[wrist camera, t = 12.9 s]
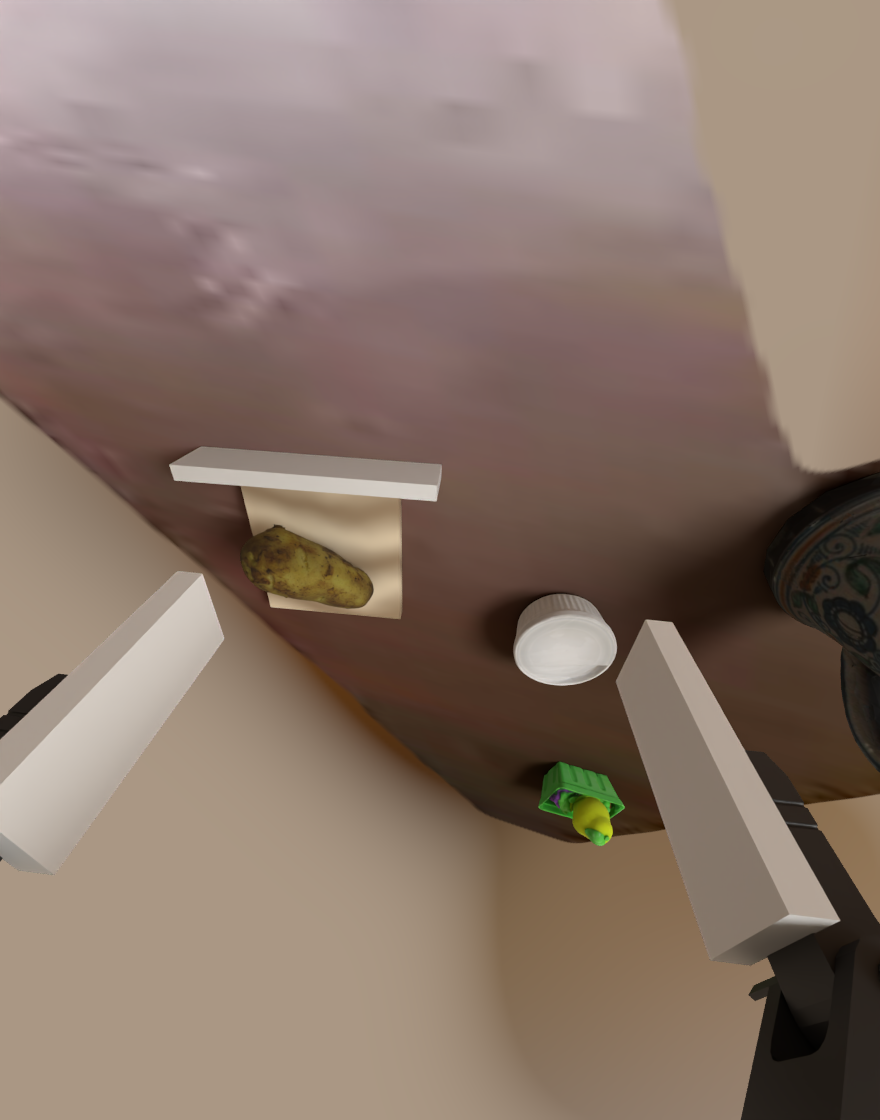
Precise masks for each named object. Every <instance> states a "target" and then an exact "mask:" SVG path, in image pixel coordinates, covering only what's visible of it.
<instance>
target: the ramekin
mask: <svg viewBox="0 0 880 1120" xmlns="http://www.w3.org/2000/svg"><path fill="white" fill-rule="evenodd" d="M616 652H617V644H616V639H615V636H614V634H613V632H612V630H611V628H610V627H609V626H608V625H607V624H606V623H605V621H604V619H603V618H602V616H601V615H600V613H599V611H598V610H597V609H596V608H595V606H593V604H592V603H590V602H589V601H587V600H585V599H584V598H581V597H579V596H575V595H569V594H553V595H548V596H545V597H542V598H540V599H538V600H536V601H534V602H533V603H531V604H530V605H529V606H528V607H527V608H526V609H525V610H524V611H523V612H522V614H521V615H520V618H519V620H518V625H517V633H516V638H515V641H514V646H513V653H514V659H515V662H516V665H517V666H518V668H519V669H520V670H521V671H522V672H523V673H524V674H525V675H527V676H528V677H530V678H532V679H534V680H536V681H539V682H542V683H545V684H551V685H573V684H579V683H582V682H586V681H588V680H591V679H593V678H595V677H597V676H599V675H600V674H602V673H603V672H604V671H605V670H606V669H607V668H608V667H609V666H610V665H611V664H612V662H613V660H614V658H615V655H616Z"/></svg>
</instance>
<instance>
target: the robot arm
mask: <svg viewBox="0 0 880 1120" xmlns="http://www.w3.org/2000/svg"><path fill="white" fill-rule="evenodd" d="M223 640H224V636H223V633H222V630H221V627H220V624H219V621H218V618H217V615H216V612H215V610H214V606H213V604H212V601H211V597H210V595H209V592H208V589H207V586H206V583H205V580H204V577H203V574H200V573H190V572H181V571H177V572H176V573H175V574H174V575H173V576H172V577H171V578H170V579H169V580H168V581H167V582H166V583H165V584H163V585H162V586H161V588H159V590H157V591H156V592H155V593H154V594H153V595H152V596H151V597H150V598H149V599H148V600H147V601H146V602H145V603H144V604H142V605H141V606H140V607H139V608H138V609H137V610H136V611H135V612H134V613H133V614H132V615H131V616H130V617H129V618H128V619H127V620H126V621H125V622H123V623H122V624H121V625H120V626H119V627H118V628H117V629H116V630H115V631H114V632H113V633H112V634H111V635H110V636H109V637H108V638H107V639H106V640H105V641H103V643H101V644H100V645H99V646H98V647H97V648H96V649H95V650H94V651H93V652H92V653H91V654H90V655H89V656H88V657H87V658H86V659H85V660H83V661H82V662H81V663H80V664H79V665H78V666H77V667H76V668H75V669H74V670H73V671H72V672H71V673H70V674H69V675H64V674H57V675H56V676H54V677H52V678H51V679H49V680H47V681H46V682H44V683H43V684H41V685H39V686H37V687H36V688H34V689H32V690H31V691H30V692H29V693H28V694H26V695H25V696H24V697H23V698H22V699H21V700H20V701H19V702H18V703H16V704H15V705H14V706H13V707H12V708H11V709H10V710H9V711H8V714H7V715H3V716H2V717H1V718H0V861H1V860H2V859H3V860H5V861H6V862H7V863H9V864H10V865H12V866H13V867H15V868H16V869H17V870H19V871H27V872H34V873H42V874H50V875H55V873H56V872H57V871H58V869H59V868H60V866H61V865H62V864H63V862H64V861H65V860H66V858H67V857H68V855H69V854H70V853H71V851H72V850H73V848H74V847H75V846H76V844H77V843H78V842H79V840H80V839H81V837H82V836H83V835H84V833H85V832H86V831H87V829H88V828H89V826H90V825H91V824H92V822H93V821H94V819H95V818H96V817H97V815H98V814H99V812H100V811H101V810H102V808H103V807H104V806H105V804H106V803H107V801H108V800H109V799H110V797H111V796H112V794H113V793H114V792H115V790H116V789H117V787H118V786H119V785H120V783H121V782H122V781H123V779H124V778H125V776H126V775H127V774H128V772H129V771H130V769H131V768H132V767H133V765H134V763H136V761H137V760H138V758H139V757H140V756H141V754H142V753H143V751H144V750H145V749H146V747H147V746H148V744H149V743H150V742H151V740H152V739H153V738H154V736H155V734H156V733H157V732H158V731H159V729H160V728H161V726H162V725H163V724H164V722H165V721H166V719H167V718H168V717H169V715H170V714H171V712H172V711H173V710H174V708H175V707H176V706H177V704H178V703H179V701H180V700H181V699H182V697H183V696H184V694H185V693H186V692H187V690H188V689H189V688H190V686H191V685H192V683H193V682H194V680H195V679H196V678H197V676H198V675H199V674H200V672H201V671H202V669H203V668H204V667H205V665H206V664H207V663H208V661H209V660H210V658H211V657H212V656H213V654H214V653H215V651H216V650H217V649H218V647H219V646H220V644H221V643H222V642H223ZM616 683H617V686H618V689H619V692H620V695H621V698H622V701H623V704H624V707H625V710H626V713H627V716H628V719H629V722H630V725H631V728H632V731H633V734H634V737H635V739H636V742H637V745H638V748H639V751H640V754H641V757H642V760H643V763H644V766H645V769H646V772H647V775H648V778H649V781H650V784H651V787H652V790H653V793H654V796H655V799H656V802H657V805H658V808H659V810H660V813H661V816H662V819H663V822H664V825H665V828H666V831H667V834H668V837H669V840H670V843H671V846H672V849H673V852H674V855H675V858H676V861H677V864H678V867H679V869H680V873H681V876H682V878H683V881H684V884H685V887H686V890H687V893H688V896H689V899H690V902H691V905H692V908H693V911H694V914H695V917H696V920H697V923H698V926H699V929H700V932H701V934H702V938H703V940H704V944H705V946H706V949H707V952H708V955H709V958H710V960H712V961H719V962H728V963H735V964H743V965H753V964H755V963H757V962H759V961H760V960H763V959H765V958H767V957H768V960H769V962H770V964H771V966H772V969H773V971H774V974H775V976H774V977H772V978H770V979H767V980H765V981H763V982H760V983H758V984H756V985H754V987H753V988H752V990H751V992H750V993H749V996H751V998H752V999H754V1000H755V1001H756V1000H759V999H761V998H764V997H766V996H767V999H766V1004H765V1009H764V1013H763V1018H762V1023H761V1028H760V1032H759V1037H758V1042H757V1046H756V1051H755V1056H754V1060H753V1065H752V1070H751V1074H750V1079H749V1084H748V1089H747V1093H746V1098H745V1103H744V1107H743V1112H742V1117H741V1120H880V924H879V922H878V921H877V919H876V918H875V917H874V915H873V913H872V912H871V910H870V908H869V907H868V905H867V904H866V902H865V900H864V899H863V897H862V896H861V894H860V893H859V891H858V889H857V888H856V886H855V884H854V883H853V881H852V879H851V878H850V876H849V875H848V873H847V871H846V870H845V868H844V867H843V865H842V863H841V862H840V860H839V859H838V857H837V855H836V854H835V852H834V850H833V849H832V847H831V846H830V844H829V843H828V841H827V839H826V838H825V836H824V834H823V833H822V831H819V830H818V828H817V823H816V822H815V820H814V818H813V817H812V815H811V813H810V812H809V810H808V809H807V808H805V807H804V805H803V803H804V802H803V801H802V799H801V797H800V796H799V794H798V792H797V791H796V789H795V788H794V786H793V784H792V783H791V781H790V780H789V778H788V776H787V775H786V774H785V773H784V772H783V771H782V770H781V769H780V768H779V767H778V766H777V765H776V764H775V763H774V762H773V761H772V760H771V759H770V758H769V757H768V756H767V755H766V754H765V753H764V752H755V751H747V750H744V748H743V747H742V745H741V743H740V741H739V740H738V738H737V736H736V734H735V732H734V731H733V729H732V727H731V725H730V724H729V722H728V720H727V718H726V717H725V715H724V713H723V711H722V709H721V708H720V706H719V704H718V702H717V701H716V699H715V697H714V695H713V693H712V692H711V690H710V688H709V686H708V685H707V683H706V681H705V679H704V677H703V676H702V674H701V672H700V670H699V669H698V667H697V665H696V663H695V661H694V660H693V658H692V656H691V654H690V653H689V651H688V649H687V647H686V645H685V644H684V642H683V640H682V638H681V637H680V635H679V633H678V631H677V630H676V628H675V626H674V624H673V622H665V621H656V620H645V622H644V624H643V626H642V628H641V630H640V632H639V634H638V636H637V638H636V640H635V643H634V645H633V647H632V649H631V651H630V653H629V655H628V657H627V659H626V661H625V663H624V666H623V668H622V670H621V672H620V674H619V676H618V678H617V680H616Z"/></svg>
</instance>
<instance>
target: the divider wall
mask: <svg viewBox="0 0 880 1120" xmlns="http://www.w3.org/2000/svg"><path fill="white" fill-rule="evenodd" d="M169 466H170V469H171V472H172V475H173V478H174V480H175V481H187V482H200V483H212V484H225V485H238V486H250V487H263V488H275V489H288V490H300V491H313V492H326V493H338V494H351V495H363V496H376V497H388V498H401V499H414V500H426V501H437V496H438V491H439V486H440V482H441V470H442V464H428V463H415V462H402V461H389V460H375V459H362V458H349V457H336V456H322V455H309V454H296V453H283V452H269V451H256V450H243V449H230V448H216V447H203V446H201V447H199V448H197V449H196V450H194V451H192V452H190V453H189V454H187V455H185V456H183V457H182V458H180V459H178V460H176V461H175V462H173V463H171V464H169Z"/></svg>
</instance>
